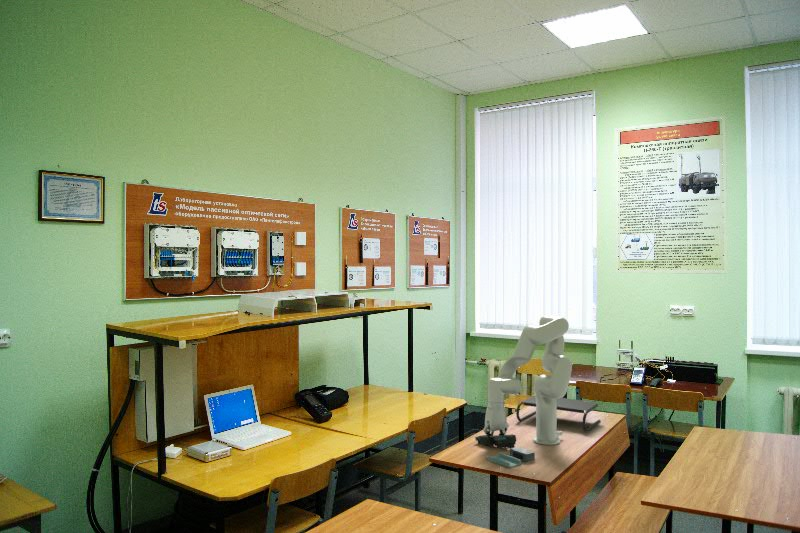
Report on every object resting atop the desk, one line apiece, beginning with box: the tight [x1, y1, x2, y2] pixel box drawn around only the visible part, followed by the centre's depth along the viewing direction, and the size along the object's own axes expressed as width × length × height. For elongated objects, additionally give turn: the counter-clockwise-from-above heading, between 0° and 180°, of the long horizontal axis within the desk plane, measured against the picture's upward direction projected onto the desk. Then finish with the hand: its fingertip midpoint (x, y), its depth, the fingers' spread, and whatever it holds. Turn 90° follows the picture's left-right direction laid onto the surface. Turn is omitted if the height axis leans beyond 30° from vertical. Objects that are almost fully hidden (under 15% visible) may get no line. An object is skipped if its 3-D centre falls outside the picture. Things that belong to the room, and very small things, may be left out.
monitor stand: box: [515, 395, 601, 433], centre depth 308 cm, size 37×28×11 cm
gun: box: [474, 433, 517, 450], centre depth 264 cm, size 4×20×10 cm, turn 48°
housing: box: [509, 446, 536, 463], centre depth 248 cm, size 5×10×4 cm, turn 34°
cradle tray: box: [486, 451, 522, 469], centre depth 243 cm, size 7×13×2 cm, turn 34°
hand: (496, 443), depth 264 cm, fingers open, 6 cm apart
